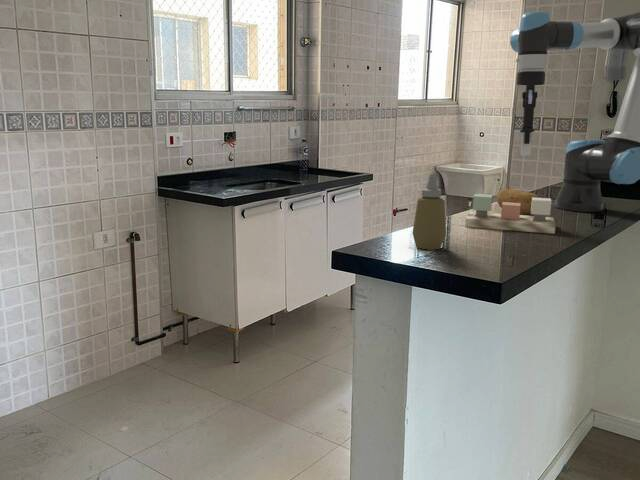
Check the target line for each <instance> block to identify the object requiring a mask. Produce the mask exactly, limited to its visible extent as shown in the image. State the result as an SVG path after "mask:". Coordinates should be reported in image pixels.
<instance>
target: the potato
mask: <svg viewBox="0 0 640 480" xmlns="http://www.w3.org/2000/svg"><path fill="white" fill-rule="evenodd" d="M532 197H534V198H541V197H540V196H539V195H537V194H536V193H533V192H528V191H524V190H521V189H513V188H503V189H501V190H499V191H498V192H497V195H496V202H497V204H498V206H499V207H500V209H502V202H511V203H521V206H520V215H526V216H529V215H530V214H531V204H532Z"/></svg>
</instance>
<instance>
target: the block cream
mask: <svg viewBox="0 0 640 480" xmlns="http://www.w3.org/2000/svg"><path fill="white" fill-rule="evenodd" d="M551 209H552V199H551V198H549V197H548V198H547V197H540V198H534V197H532V204H531V213H530V214H531V215H533V216H534V221H543V222H545V220H546V217H547V216H550V215H551Z"/></svg>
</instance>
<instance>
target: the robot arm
mask: <svg viewBox="0 0 640 480" xmlns="http://www.w3.org/2000/svg"><path fill="white" fill-rule="evenodd" d="M509 41H510V42H509V45H510V47H511V49H512V51H514V52H516V53H518V58H516V59H515V62H516V63H518V64H517V70H518V72H517V73H516V74H517V76H516V85H517V86H525V91H522V94H521V95H522V96H521V98H522V108H523V115H522V116H523V117H522V128H521V129H520V130H519V132H520V133H521V143H520V145H521V146H520V156H531V155H532V153H531V152H532V139H533V133H535V129H534V127H533V125H534V113H535V108H536V104H537V98H538V91H536V90H535V89H536V88H535V87H536V86H544V85H545V81H546V72H545V71H544V70H546V69H547V60H548V59H547V58H548V51H559V50H560V51H563V50H564V51H568V50H575V49H590V48H600V49H601V50H606V51H607V50H609V51H610V50H614V51H615V50H616V51H617V50H618V51H619V50H620V51H629V52H630V51H632V52H633V54H634V56H635V62H634V64H633V68H632V72H631V75H630V78H629V81H628V84H627V87H626V89H625V92H624V93H625V94H624V97H623V99H622V104H621V106H620V109H619V113H618V116H617V120H616V122H615V126H614V129H613V132H612V133H610V134H609V135H607V136H605V139H587V140H586V139H583V140H572V141H570V142H569V143H568V144H567V147H566V152H565V160H564V169H563V171H564V172H563V179H562V185H561V187H560V189H559V190H560V191H559V192H558V195H557V197H556V199H555V204H554V207H555V208H557V209H561V210H566V211H573V212H584V213H585V212H586V213H589V212H590V213H592V212H593V213H596V212H597V213H598V212H602V211H604V201H603V196H602V192H601V191H602V190H601V182H608V183H614V184H617V185H621V184H622V185H632V184H635V183H636V182H637V181H640V12H634V13H630V14H629V13H628V14H625V15H621V16H617V17H610V18H609V17H608V18H605V19H603V20H601V21H599V22H598V21H597V22H594V21H593V22H581V23H579V22H577V21H571V20H569V21H564V20H563V21H562V20H561V21H559V20H555V21H554V20H551V19H550V13H549V12H547V11H533V12H526V13H524V14H523V15H522V16H521V19H520V24H519V27H518V28H516V29H514V30H513V31H512V33H511V35H510V40H509Z"/></svg>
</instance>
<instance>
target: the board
mask: <svg viewBox="0 0 640 480" xmlns="http://www.w3.org/2000/svg"><path fill="white" fill-rule="evenodd" d="M464 225H465V227H466V228H475V229H476V228H477V229H478V228H479V229H489V230H490V229H491V230H503V231H513V230H514V232H515V231H516V232H528V233H540V234H542V233H543V234H553V235H555V233H556V222H555V219H554V217H553V216H552V217H551V216H546V220H545V222H543V221H534V215H520V216H519V220H515V219H502V218H501V213H497V212H496V213H495V212H487V217H476V211H468V213H467V215H466V217H465V224H464Z"/></svg>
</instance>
